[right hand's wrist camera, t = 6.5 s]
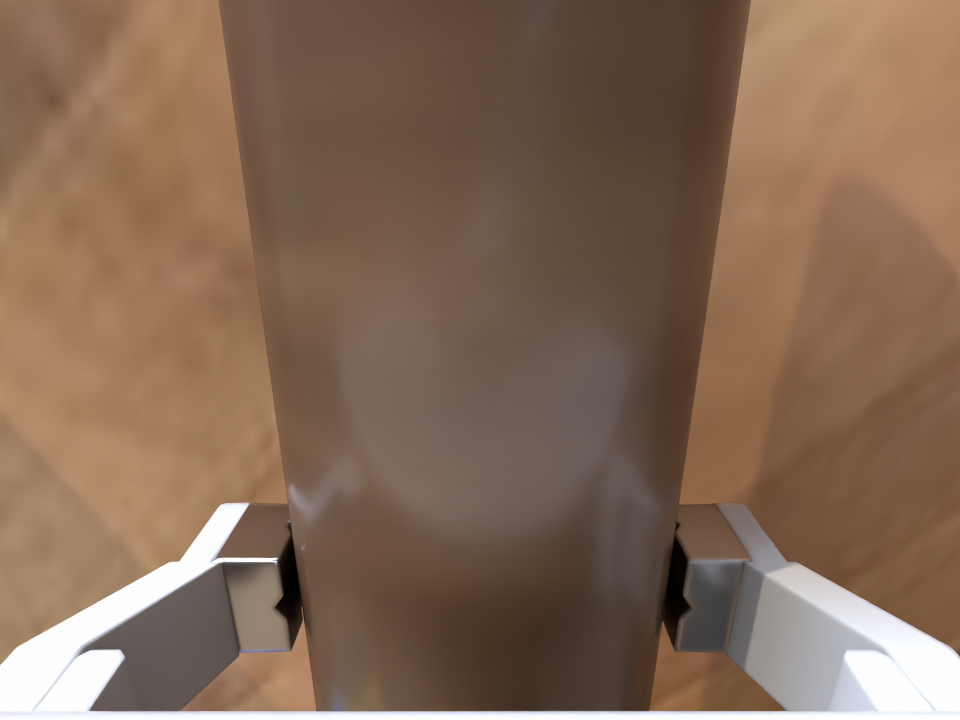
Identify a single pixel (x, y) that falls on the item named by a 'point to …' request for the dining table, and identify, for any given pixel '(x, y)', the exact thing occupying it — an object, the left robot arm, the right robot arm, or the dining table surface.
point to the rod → (483, 328)
